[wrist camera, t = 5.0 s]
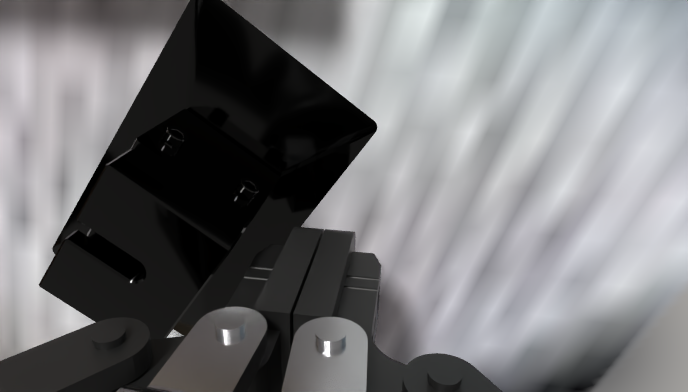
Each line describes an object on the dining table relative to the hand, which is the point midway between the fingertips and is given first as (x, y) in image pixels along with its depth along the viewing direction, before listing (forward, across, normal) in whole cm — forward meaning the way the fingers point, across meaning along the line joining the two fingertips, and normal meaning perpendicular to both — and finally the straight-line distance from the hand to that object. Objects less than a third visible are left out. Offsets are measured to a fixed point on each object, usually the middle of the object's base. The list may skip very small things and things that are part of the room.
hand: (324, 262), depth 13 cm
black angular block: (+2, +4, -1) cm, 4 cm away
